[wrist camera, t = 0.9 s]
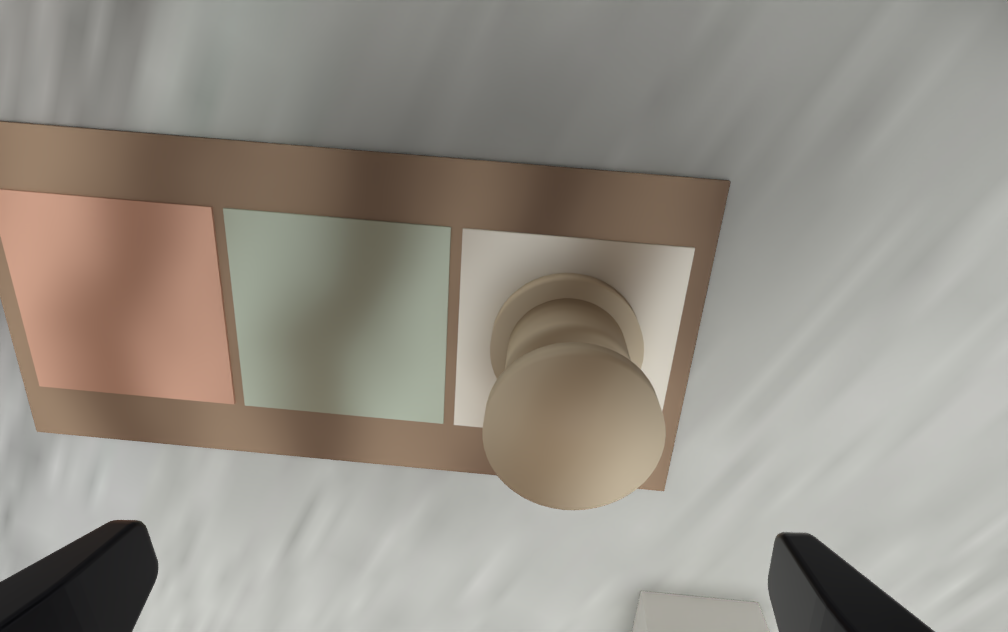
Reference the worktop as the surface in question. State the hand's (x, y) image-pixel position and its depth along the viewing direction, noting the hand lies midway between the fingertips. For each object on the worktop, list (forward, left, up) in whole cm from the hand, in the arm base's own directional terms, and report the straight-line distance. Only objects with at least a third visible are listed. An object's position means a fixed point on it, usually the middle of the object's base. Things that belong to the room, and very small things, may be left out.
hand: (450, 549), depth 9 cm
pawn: (-2, +3, -13) cm, 13 cm away
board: (+6, +3, -13) cm, 15 cm away
